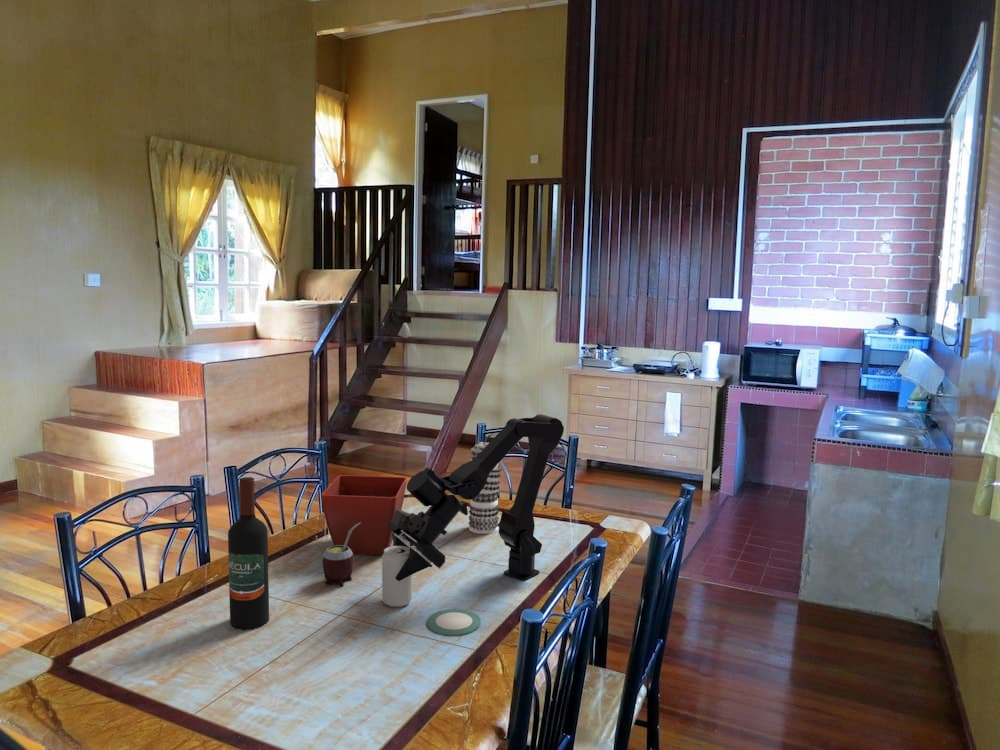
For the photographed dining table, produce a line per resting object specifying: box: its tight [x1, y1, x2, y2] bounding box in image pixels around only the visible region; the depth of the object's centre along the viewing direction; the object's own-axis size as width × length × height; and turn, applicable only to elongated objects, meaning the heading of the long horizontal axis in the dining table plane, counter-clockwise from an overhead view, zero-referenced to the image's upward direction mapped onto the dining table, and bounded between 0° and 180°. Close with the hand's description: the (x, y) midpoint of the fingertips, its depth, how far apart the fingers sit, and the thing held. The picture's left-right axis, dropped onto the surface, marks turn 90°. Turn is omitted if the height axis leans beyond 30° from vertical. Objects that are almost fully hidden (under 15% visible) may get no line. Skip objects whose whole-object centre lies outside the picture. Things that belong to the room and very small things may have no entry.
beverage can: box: [381, 545, 413, 608], centre depth 157 cm, size 6×6×12 cm
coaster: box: [426, 608, 482, 637], centre depth 148 cm, size 11×11×1 cm
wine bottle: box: [227, 476, 270, 631], centre depth 145 cm, size 8×8×30 cm
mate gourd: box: [322, 522, 361, 588], centre depth 167 cm, size 8×8×15 cm
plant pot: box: [320, 474, 407, 556], centre depth 189 cm, size 19×19×17 cm
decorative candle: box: [468, 441, 502, 535], centre depth 205 cm, size 9×9×25 cm
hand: (391, 574), depth 156 cm, fingers closed on beverage can, 6 cm apart
